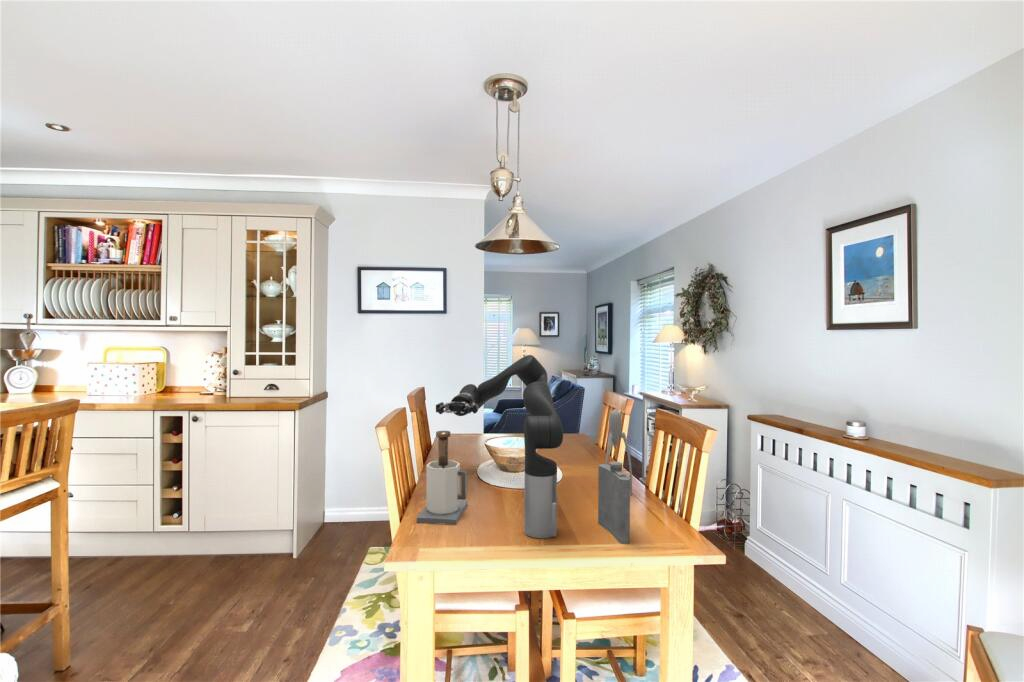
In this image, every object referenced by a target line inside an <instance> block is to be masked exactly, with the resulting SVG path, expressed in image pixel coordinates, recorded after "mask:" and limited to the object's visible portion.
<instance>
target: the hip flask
mask: <svg viewBox="0 0 1024 682" xmlns="http://www.w3.org/2000/svg"><path fill="white" fill-rule="evenodd" d="M622 467H623V462H622V461H621V462H620V461H609V464H608V465H607V464H606V463H601V464H598V477H597V478H598V479H597V480H598V485H597V486H598V490H597V491H598V493H597V505H598V506H597V524H598V526H599V525H600V526H601V527H603V528H604V529H605V530H607V532H609V533H610V534H611V535H612V536H613V537H614V538H615V539H616V541H617V543H619V544H622V545H628V544H629V543H630V540H631V539H630V538H631V537H630V535H631V534H630V533H631V529H630V528H631V526H630V525H631V496H630V476H629V475H628V474H626V473H625V472H624V471H623V468H622Z"/></svg>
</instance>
